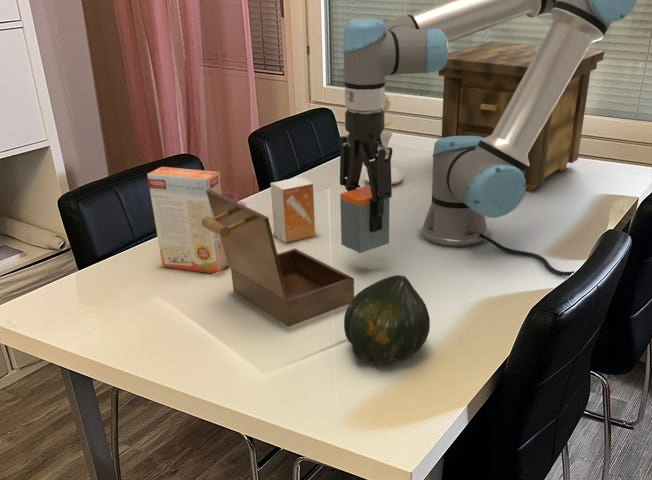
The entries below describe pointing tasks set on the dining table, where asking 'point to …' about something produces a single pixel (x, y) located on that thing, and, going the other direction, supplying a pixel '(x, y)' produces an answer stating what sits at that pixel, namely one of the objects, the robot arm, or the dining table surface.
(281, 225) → the small box
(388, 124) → the flower in vase
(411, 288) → the squash
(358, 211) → the container
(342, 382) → the dining table surface
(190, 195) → the cracker box
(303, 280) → the chest
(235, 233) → the chest lid
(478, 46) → the wooden drawer cabinet
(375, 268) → the dining table surface
